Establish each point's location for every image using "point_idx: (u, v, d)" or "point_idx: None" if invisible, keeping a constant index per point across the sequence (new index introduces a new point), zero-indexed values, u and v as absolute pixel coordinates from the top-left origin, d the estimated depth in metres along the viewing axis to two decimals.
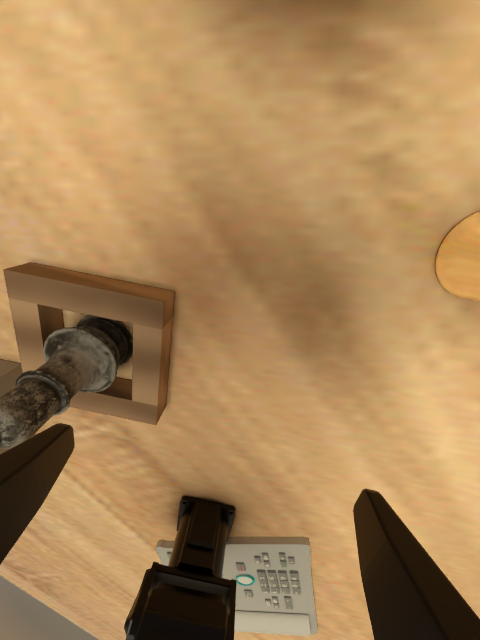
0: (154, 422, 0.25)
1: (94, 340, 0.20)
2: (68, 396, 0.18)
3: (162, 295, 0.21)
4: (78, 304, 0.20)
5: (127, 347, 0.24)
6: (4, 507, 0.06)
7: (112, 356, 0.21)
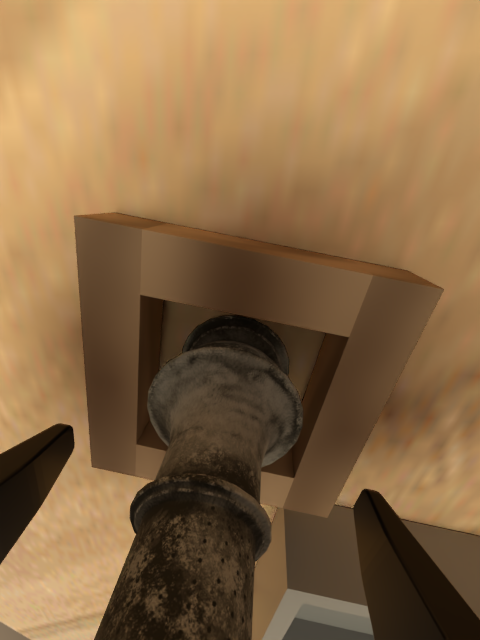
0: (433, 293, 0.09)
1: (164, 375, 0.10)
2: (197, 479, 0.06)
3: None
4: (122, 385, 0.11)
5: (241, 326, 0.12)
6: (3, 508, 0.06)
7: (201, 350, 0.09)
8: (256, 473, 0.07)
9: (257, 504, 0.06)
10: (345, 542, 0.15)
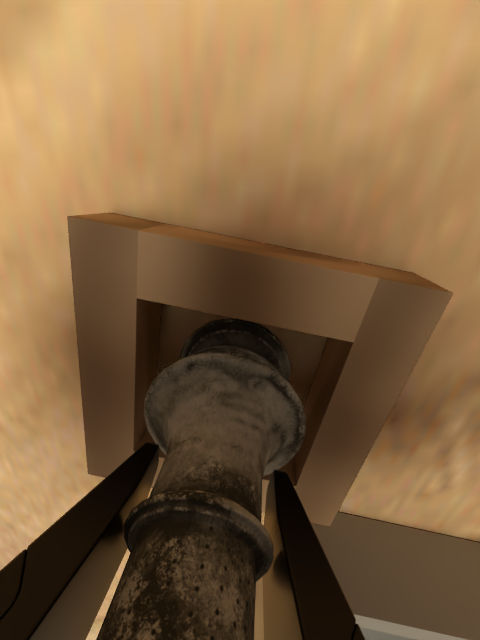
0: (442, 297, 0.08)
1: (161, 382, 0.09)
2: (194, 497, 0.06)
3: None
4: (118, 391, 0.11)
5: (241, 330, 0.12)
6: (114, 532, 0.06)
7: (199, 356, 0.09)
8: (257, 487, 0.07)
9: (258, 523, 0.06)
10: (348, 550, 0.15)
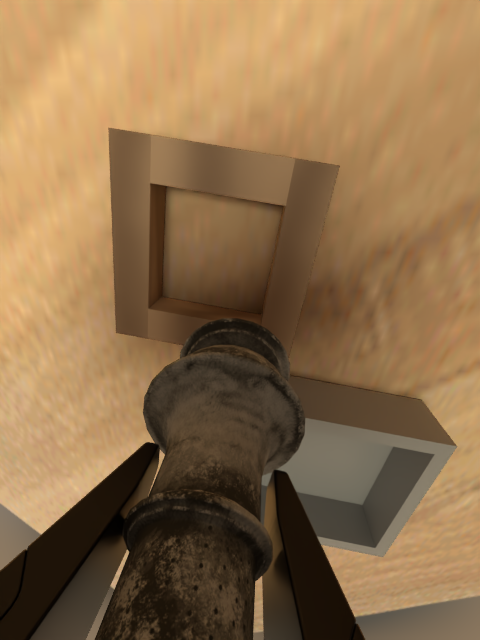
0: (334, 169, 0.14)
1: (160, 382, 0.09)
2: (193, 497, 0.06)
3: None
4: (138, 257, 0.17)
5: (240, 330, 0.12)
6: (114, 532, 0.06)
7: (199, 355, 0.09)
8: (256, 486, 0.07)
9: (257, 522, 0.06)
10: (304, 393, 0.20)
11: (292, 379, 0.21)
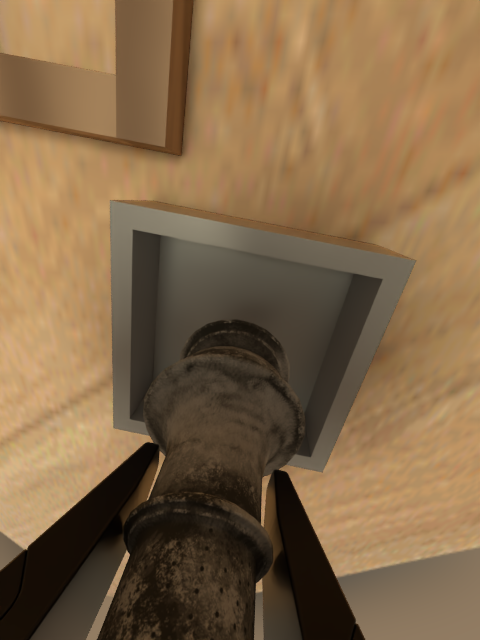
0: None
1: (160, 383, 0.09)
2: (194, 499, 0.06)
3: None
4: None
5: (240, 331, 0.12)
6: (115, 532, 0.06)
7: (199, 357, 0.09)
8: (257, 488, 0.07)
9: (258, 525, 0.06)
10: (201, 213, 0.14)
11: (193, 209, 0.15)
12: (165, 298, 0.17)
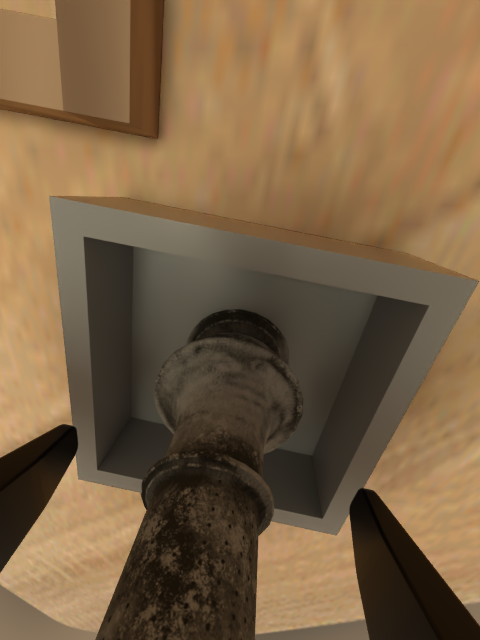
0: None
1: (170, 365, 0.10)
2: (205, 455, 0.07)
3: None
4: None
5: (243, 320, 0.13)
6: (9, 508, 0.06)
7: (206, 340, 0.10)
8: (259, 454, 0.08)
9: (261, 479, 0.07)
10: (183, 213, 0.10)
11: (174, 208, 0.12)
12: (142, 318, 0.14)
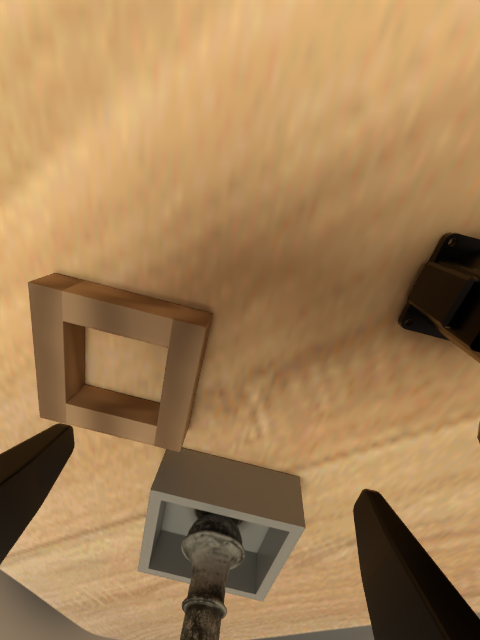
0: (202, 329, 0.18)
1: (190, 538, 0.24)
2: (205, 598, 0.21)
3: None
4: (55, 368, 0.21)
5: None
6: (3, 508, 0.06)
7: (205, 532, 0.24)
8: (223, 588, 0.22)
9: (222, 604, 0.21)
10: (198, 471, 0.25)
11: (193, 455, 0.26)
12: None
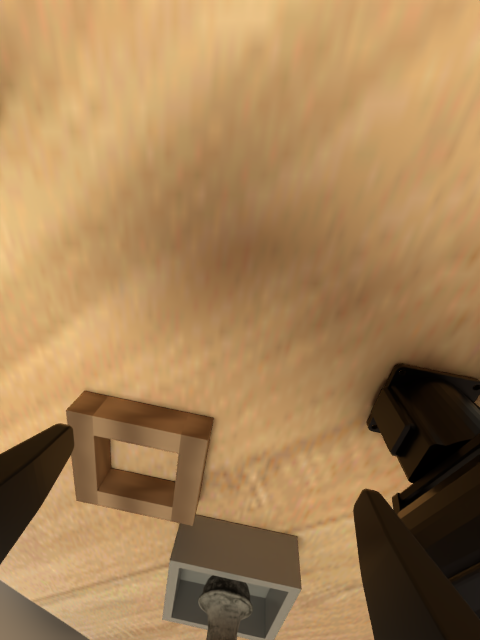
0: (204, 441, 0.23)
1: (205, 596, 0.28)
2: None
3: None
4: (88, 466, 0.25)
5: None
6: (3, 507, 0.06)
7: (218, 591, 0.28)
8: None
9: None
10: (209, 538, 0.29)
11: (204, 522, 0.30)
12: None
